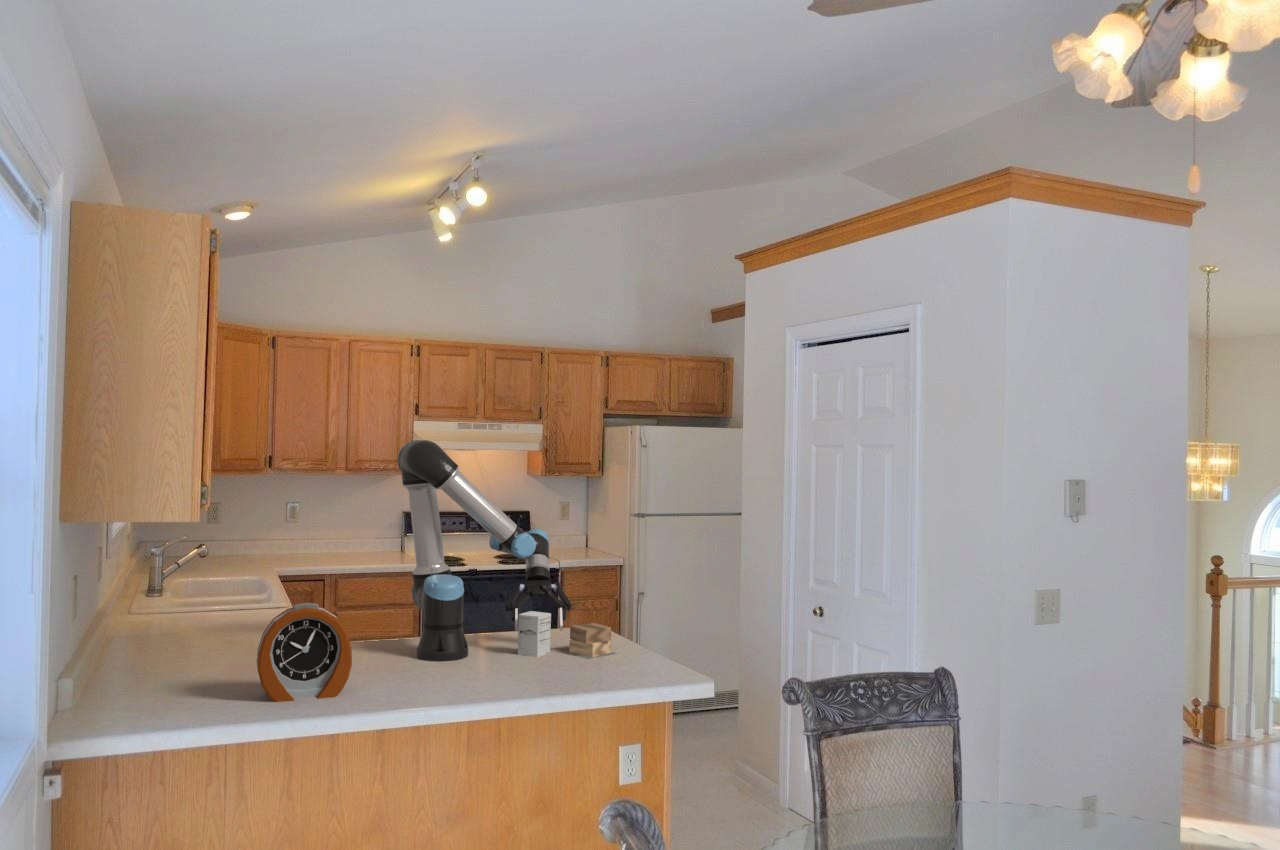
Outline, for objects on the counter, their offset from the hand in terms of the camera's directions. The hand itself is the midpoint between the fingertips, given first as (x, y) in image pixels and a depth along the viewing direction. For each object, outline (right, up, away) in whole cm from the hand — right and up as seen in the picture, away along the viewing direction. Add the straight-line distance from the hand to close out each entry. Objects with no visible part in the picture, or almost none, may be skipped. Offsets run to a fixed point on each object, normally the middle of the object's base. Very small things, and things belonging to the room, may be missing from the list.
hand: (539, 628), depth 293 cm
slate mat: (+16, -8, 0) cm, 17 cm away
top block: (+16, -3, 0) cm, 16 cm away
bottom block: (+16, -7, 0) cm, 17 cm away
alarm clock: (-53, -6, -52) cm, 75 cm away
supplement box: (-1, -8, -2) cm, 8 cm away
